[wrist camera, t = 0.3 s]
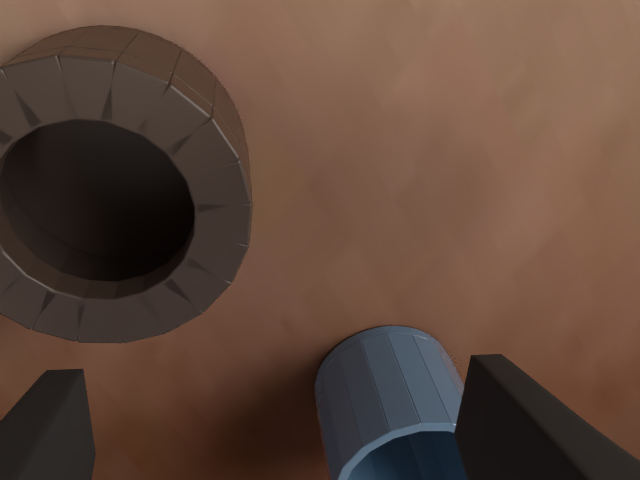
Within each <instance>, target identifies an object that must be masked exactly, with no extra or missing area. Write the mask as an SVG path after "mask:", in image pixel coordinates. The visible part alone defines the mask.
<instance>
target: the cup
mask: <svg viewBox="0 0 640 480" xmlns="http://www.w3.org/2000/svg"><path fill="white" fill-rule="evenodd" d="M463 390H464V384H463V382H462V380H461V378H460V376H459V374H458V372H457V370H456V368H455V366H454V364H453V362H452V360H451V359H450V357H449V355H448V354H447V352H446V350H445V349H444V348H443V346H442V345H441V344H440V343H439V342H438V341H437V340H436V339H435V338H433V337H432V336H430V335H429V334H427V333H425V332H423V331H420V330H417V329H414V328H410V327H405V326H383V327H377V328H373V329H369V330H365V331H363V332H360V333H358V334H356V335H354V336H351V337H350V338H348V339H346V340H345V341H343V342H342V343H340V344H339V345H338V346H337V347H335V348H334V349H333V350H332V351H331V352H330V353H329V354H328V356H327V357H326V358H325V360H324V361H323V363H322V364H321V366H320V368H319V370H318V373H317V375H316V379H315V383H314V396H315V402H316V411H317V417H318V423H319V428H320V434H321V439H322V445H323V450H324V456H325V462H326V467H327V473H328V478H329V480H468V479H467V476H466V473H465V470H464V467H463V463H462V460H461V457H460V453H459V450H458V446H457V443H456V439H455V436H454V431H455V426H456V422H457V417H458V413H459V408H460V404H461V399H462V395H463Z"/></svg>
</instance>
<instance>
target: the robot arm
mask: <svg viewBox="0 0 640 480" xmlns="http://www.w3.org/2000/svg"><path fill="white" fill-rule="evenodd" d="M454 436H455V439H456V443H457V446H458V450H459V453H460V457H461V460H462V463H463V467H464V470H465V473H466V476H467V479H468V480H640V461H639V460H638V459H636V458H635V457H633V456H632V455H631V454H629V453H628V452H626V451H625V450H624V449H622V448H621V447H619V446H618V445H617V444H615V443H614V442H612V441H611V440H610V439H608V438H607V437H606V436H604V435H603V434H602V433H600V432H599V431H598V430H596V429H595V428H594V427H593V426H591V425H590V424H589V423H587V422H586V421H585V420H583V419H582V418H581V417H580V416H578V415H577V414H576V413H575V412H573V411H572V410H571V409H569V408H568V407H567V406H566V405H564V404H563V403H562V402H561V401H559V400H558V399H557V398H556V397H555V396H553V395H552V394H551V393H550V392H548V391H547V390H546V389H545V388H543V387H542V386H541V385H540V384H538V383H537V382H536V381H535V380H534V379H532V378H531V377H530V376H529V375H527V374H526V373H525V372H524V371H522V370H521V369H520V368H519V367H517V366H516V365H515V364H513V363H512V362H511V361H510V360H508V359H507V358H506V357H504V356H503V355H501V354H491V355H471V359H470V363H469V368H468V372H467V377H466V381H465V386H464V390H463V395H462V399H461V404H460V408H459V413H458V417H457V422H456V426H455V431H454ZM95 454H96V453H95V446H94V439H93V432H92V426H91V419H90V412H89V405H88V398H87V391H86V385H85V378H84V371H83V369H68V370H47V371H46V372H45V373H43V374H42V375H41V376H40V377H39V379H38V380H37V381H36V382H35V383H34V384H33V385H32V386H31V387H30V389H29V390H28V391H27V392H26V393H25V394H24V395H23V397H22V398H21V399H20V400H19V401H18V402H17V403H16V404H15V406H14V407H13V408H12V409H11V410H10V411H9V412H8V413H7V414H6V416H5V417H4V418H3V419H2V420H1V421H0V480H91V479H92V473H93V467H94V461H95Z"/></svg>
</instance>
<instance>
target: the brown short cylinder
mask: <svg viewBox="0 0 640 480" xmlns="http://www.w3.org/2000/svg"><path fill="white" fill-rule="evenodd" d="M252 206H253V205H252V193H251V179H250V167H249V156H248V148H247V144H246V141H245V134H244V130H243V127H242V123H241V119H240V117H239V115H238V112H237V110H236V108H235V105H234V103H233V102H232V100H231V98H230V96H229V95H228V93H227V91H226V90H225V88H224V87H223V86H222V84H221V83H220V82H219V81H218V79H217V78H216V77H215V76H214V75H213V74H212V73H211V72H210V71H209V70H208V69H207V68H206V66H205V65H204V64H203V63H201V62H200V61H199V60H197V59H196V58H195V57H194V56H192V55H191V54H190V53H189V52H187V51H185V50H184V49H182V48H180V47H179V46H177V45H175V44H174V43H172V42H170V41H168V40H165V39H163V38H161V37H159V36H156V35H154V34H150V33H147V32H144V31H140V30H137V29H131V28H126V27H120V26H90V27H81V28H77V29H72V30H68V31H64V32H61V33H59V34H56V35H52V36H49V37H47V38H45V39H43V40H42V41H40V42H39V43H37V44H35V45H34V46H32V47H31V48H29V49H27V50H26V51H24V52H23V53H21V54H20V55H18V56H16V57H15V58H13V59H12V60H10V61H8V62H7V63H5V64H4V65H2V66H0V314H2V315H4V316H6V317H8V318H9V319H11V320H13V321H15V322H17V323H19V324H21V325H22V326H24V327H26V328H28V329H31V328H32V330H34V331H37V332H41V333H45V334H48V335H52V336H56V337H60V338H64V339H67V340H71V341H78V342H80V343H123V342H124V343H127V342H132V341H136V340H140V339H144V338H149V337H153V336H157V335H161V334H165V333H166V332H170V331H171V330H173V329H175V328H177V327H179V326H180V325H182V324H184V323H186V322H188V321H189V320H191V319H193V318H195V317H197V316H198V315H200V314H202V313H203V312H204V311H206V310H207V309H208V307H209V306H210V305H211V304H212V303H213V302H214V301H215V300H216V299H217V298H218V297H219V296H220V295H221V294H222V293H223V292H224V291H225V290H226V289H227V288H228V287H229V285H230V284H231V282H232V281H233V280H234V278H235V276H236V274H237V271H238V269H239V267H240V265H241V263H242V260H243V258H244V256H245V254H246V252H247V249H248V247H249V245H248V244H249V242H250V231H251V219H252Z"/></svg>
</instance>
